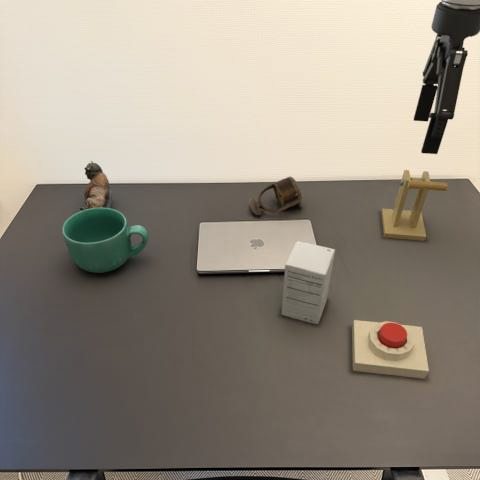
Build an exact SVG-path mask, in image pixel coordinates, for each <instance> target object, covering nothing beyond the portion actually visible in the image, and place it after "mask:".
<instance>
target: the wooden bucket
mask: <svg viewBox="0 0 480 480" xmlns="http://www.w3.org/2000/svg"><path fill="white" fill-rule="evenodd" d="M272 189H273V193H274V195H275V199H276V201H277V203H278V205H279V206H280V207H279V208H274V209H273V208H268V207H265V206H264V205H263V204H262V201H261V199H262V197H263V194H265V192H267V191H269V190H272ZM301 192H302V191H301V189H300V187H299V184H298V183H297V180H296V179H295V178H294V177H292V176H291V175H290V176H287V177H285V178H282V179H280V180H278V181H275V182H273V183H272V184H269V185H267V186H265V187H264V188H263V189H262V190H261V191H260V192H259V194H258V197H257V201H256V200H255V199H254V198H250V199H249V201H248V207H249V210H250V211H251V213H253V214H254V215H255V216H261V215H262V210H263V211H264V212H267V213H271V214H277V213H280V212H282V211H285V210H287V209H289V208H291V207H294V206H296V205H297V206H298V207H299V208H302V199H303V197H302V193H301Z"/></svg>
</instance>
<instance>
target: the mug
mask: <svg viewBox="0 0 480 480" xmlns="http://www.w3.org/2000/svg"><path fill="white" fill-rule="evenodd" d="M61 231H62V235H63V239H64V242H65V244H66V248H67V250H68V253H69V255H70V258H71V259H72V261H73V263H75V265H76V266H77V267H79V268H80V269H82V270H84V271H86V272H89V273H98V274H99V273H108V272H111V271H114V270H116V269H119V268H121V266H122V265H124V264H125V263H126V262H127V260H128V259H129V258H130V257H133V256H135V255H138V254H139V253H140V252H142V251H143V250H144V249H145V248H146V246H147V243H148V241H149V232H148V231H147V229H146V228H145V227H144V226H142V225H139V224H137V225H136V224H135V225H131V226H128V222H127V218H126V216H125V215H124V214H123V213H122V212H120V211H119V210H116V209H114V208H111V207H110V208H100V207H99V208H91V209H86V210H83V211H80V212H79V211H78V212H76V213H74V214H73V215H71V216H70V217H68V218H67V219H66V220H65V222H64V223H63V225H62V230H61ZM134 234H135V235H139V236H140V237H141V238H142V241H141V242H140V243H138V244H136V245H134V246H132V239H131V237H132V235H134Z"/></svg>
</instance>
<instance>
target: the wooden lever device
mask: <svg viewBox="0 0 480 480" xmlns="http://www.w3.org/2000/svg"><path fill="white" fill-rule="evenodd" d="M410 177H411V174H410V170H408V169H404V170H403V173H402V176H401V179H400V180H399V181H400V182H399V188H398V192H397V196H396V200H395V203H394V206H393V208H381V213H380V214H381V222H382V231H383V232H382V233H383V238H384V239H386V238H387V239H397V240H410V241H422V242H425V241H426V239H427V232H426V227H425V223H424V217H423V212H422V211H423V208H424V204H425V201H426V198H427V196H428V193H429V190H427V189H421V190H417V192H416V194H415V197H414V201H413V205H412V207H411V210H409V209H407V210H406V209H404V208H405V207H404V206H405V204H406V200H407V196H408V192H409V190H410V189H409V188H408V183H409V181H410V180H411V178H410ZM421 178H423V180H422V181H425V182H432V181H431V178H430V174H429V171H423V172H422V174H421Z"/></svg>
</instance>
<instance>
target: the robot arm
mask: <svg viewBox="0 0 480 480" xmlns="http://www.w3.org/2000/svg"><path fill="white" fill-rule="evenodd" d="M431 30H432V31H433V32H434V33H435V34H436V36H435V40H434V42H433V45H432V48H431V50H430V53H429V55H428V58H427V61H426V63H425V65H424V69H423V71H422V84H421V88H420V92H419V97H418V100H417V105H416V107H415V112H414V116H413V121H414V122H429V123H428V126H427V129H426V132H425V133H426V134H425V137H424V140H423V142H422V147H421V150H420V151H421V154H428V155H429V154H430V155H438V153H439V150H440V147H441V144H442V140H443V138H444V134H445V132H446V128H447V125H448V122H449V120H453V119H454V117H455V112H456V107H457V102H458V97H459V91H460V87H461V82H462V77H463V72H464V67H465V64H466V60H467V57H468V54H469V53H468V50H467V49H465V47H464V42H465V40H466V39H467V38H469V37H470V38H472V37H475V36H477V35H478V34H480V0H440V1H439V2H438V4H436V7H435V10H434V15H433V18H432V22H431ZM434 102H435V103H434ZM433 105H434V109H433ZM432 109H433V110H434V111H433V112H432ZM429 119H430V120H429Z"/></svg>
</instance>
